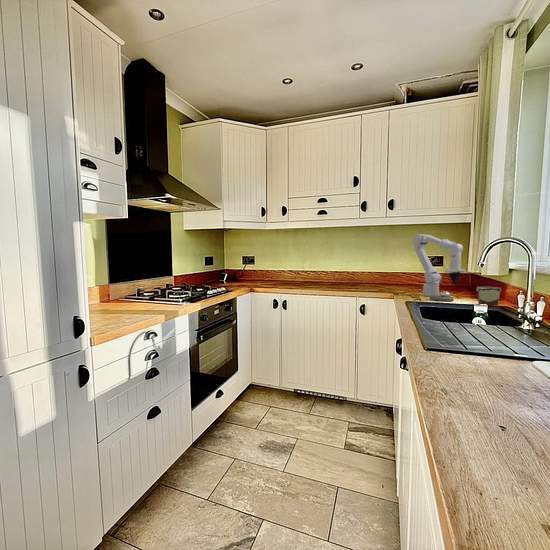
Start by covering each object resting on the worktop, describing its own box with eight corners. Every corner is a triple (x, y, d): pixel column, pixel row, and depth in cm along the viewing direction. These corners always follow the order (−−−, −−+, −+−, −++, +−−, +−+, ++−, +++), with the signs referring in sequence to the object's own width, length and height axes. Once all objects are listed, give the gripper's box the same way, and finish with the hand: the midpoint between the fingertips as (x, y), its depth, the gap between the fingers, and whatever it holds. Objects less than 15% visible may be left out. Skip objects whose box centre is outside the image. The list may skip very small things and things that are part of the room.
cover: (438, 296, 190) (438, 291, 190) (444, 295, 192) (445, 290, 192) (445, 297, 185) (445, 292, 185) (452, 296, 187) (452, 291, 187)
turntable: (424, 298, 192) (425, 296, 192) (440, 297, 196) (440, 294, 196) (442, 301, 179) (442, 298, 179) (458, 300, 184) (458, 297, 184)
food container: (493, 303, 171) (494, 286, 171) (500, 305, 165) (501, 287, 165) (471, 303, 173) (471, 286, 172) (477, 305, 167) (477, 287, 166)
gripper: (452, 263, 184) (451, 285, 185) (469, 262, 188) (469, 284, 189) (442, 262, 190) (442, 284, 191) (459, 262, 195) (459, 283, 196)
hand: (454, 284), depth 191 cm, fingers closed
